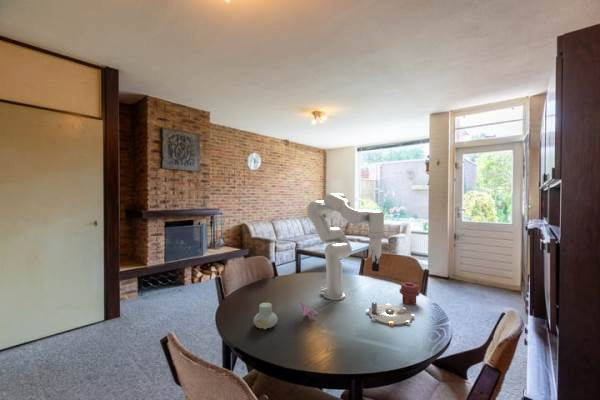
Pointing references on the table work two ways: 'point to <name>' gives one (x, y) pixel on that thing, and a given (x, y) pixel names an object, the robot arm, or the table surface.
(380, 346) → the table surface
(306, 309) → the lily
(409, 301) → the mechanical component
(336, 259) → the robot arm
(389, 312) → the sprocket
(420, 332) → the table surface
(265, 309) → the air freshener
